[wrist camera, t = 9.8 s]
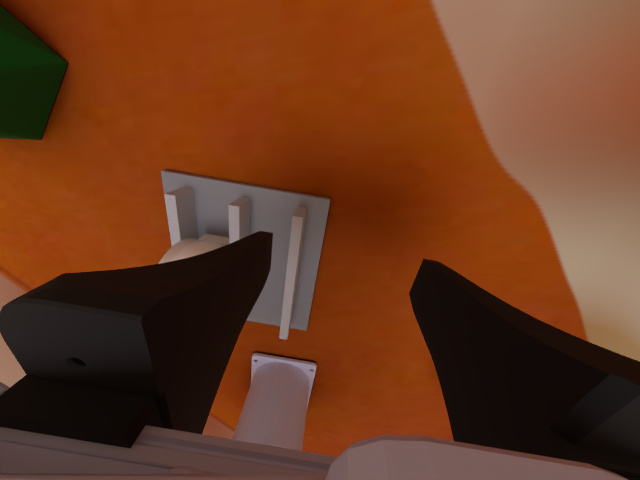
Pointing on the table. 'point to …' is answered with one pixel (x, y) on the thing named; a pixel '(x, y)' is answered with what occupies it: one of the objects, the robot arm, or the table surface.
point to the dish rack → (250, 217)
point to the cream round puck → (194, 247)
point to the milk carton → (26, 80)
